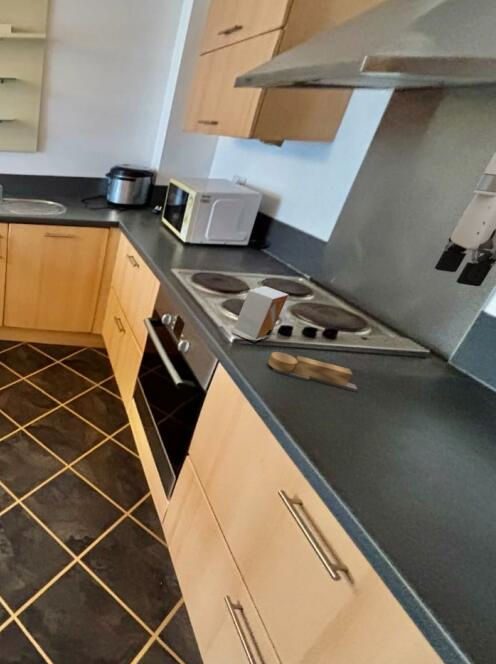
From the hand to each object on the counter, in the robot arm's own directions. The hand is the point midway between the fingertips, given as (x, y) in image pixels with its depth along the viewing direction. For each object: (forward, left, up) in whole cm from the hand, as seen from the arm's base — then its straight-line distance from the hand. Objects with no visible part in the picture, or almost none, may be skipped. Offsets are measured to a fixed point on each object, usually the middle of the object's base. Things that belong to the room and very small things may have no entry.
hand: (455, 277), depth 81 cm
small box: (+27, -11, -27) cm, 40 cm away
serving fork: (+15, +5, -27) cm, 31 cm away
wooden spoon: (+16, +5, -26) cm, 31 cm away
